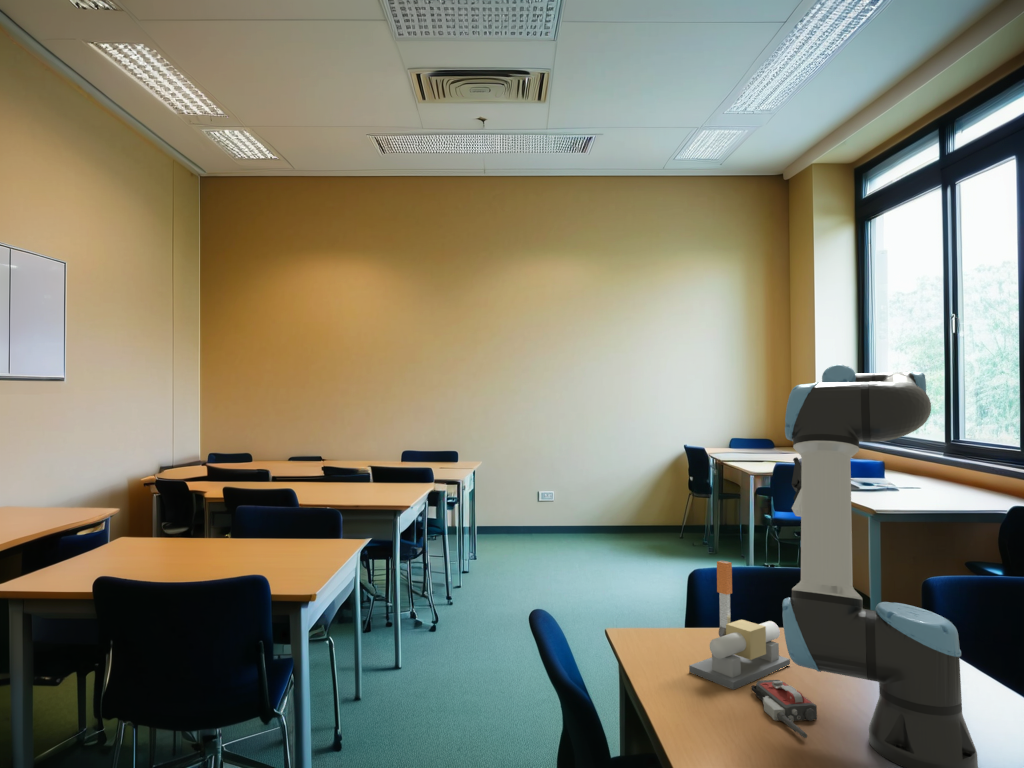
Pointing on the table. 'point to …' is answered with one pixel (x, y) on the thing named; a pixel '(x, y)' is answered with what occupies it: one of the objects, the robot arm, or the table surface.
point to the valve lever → (724, 593)
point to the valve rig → (742, 654)
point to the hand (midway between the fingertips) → (796, 512)
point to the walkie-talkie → (785, 703)
